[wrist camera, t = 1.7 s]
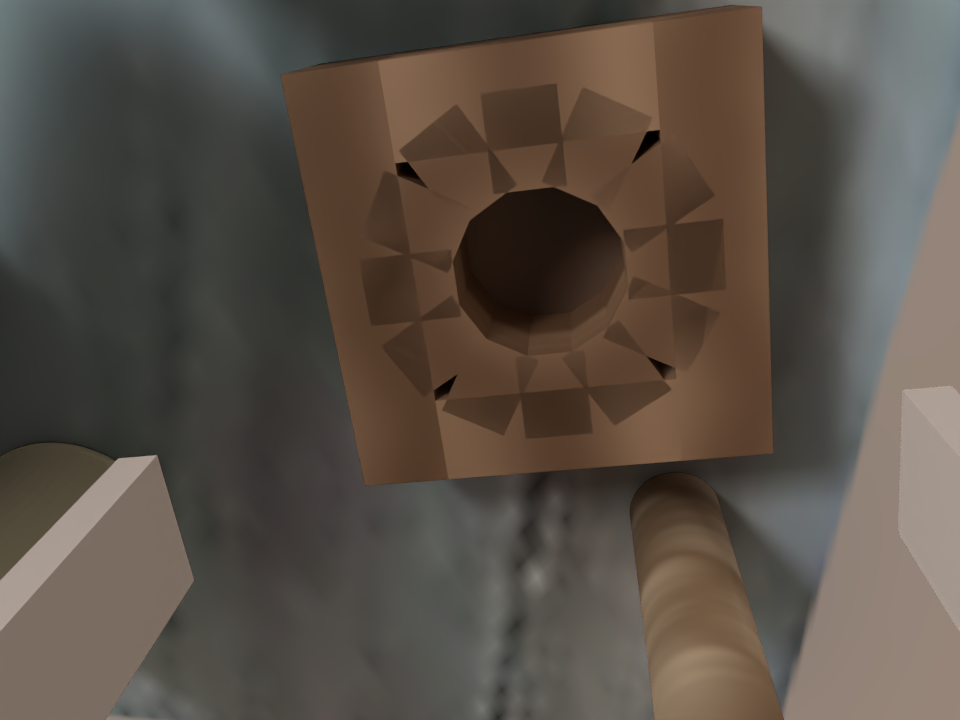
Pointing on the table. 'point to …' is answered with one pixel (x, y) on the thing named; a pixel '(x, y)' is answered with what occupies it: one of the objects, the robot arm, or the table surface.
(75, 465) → the can
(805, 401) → the table surface
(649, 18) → the bore block
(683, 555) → the dowel pin
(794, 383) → the table surface
